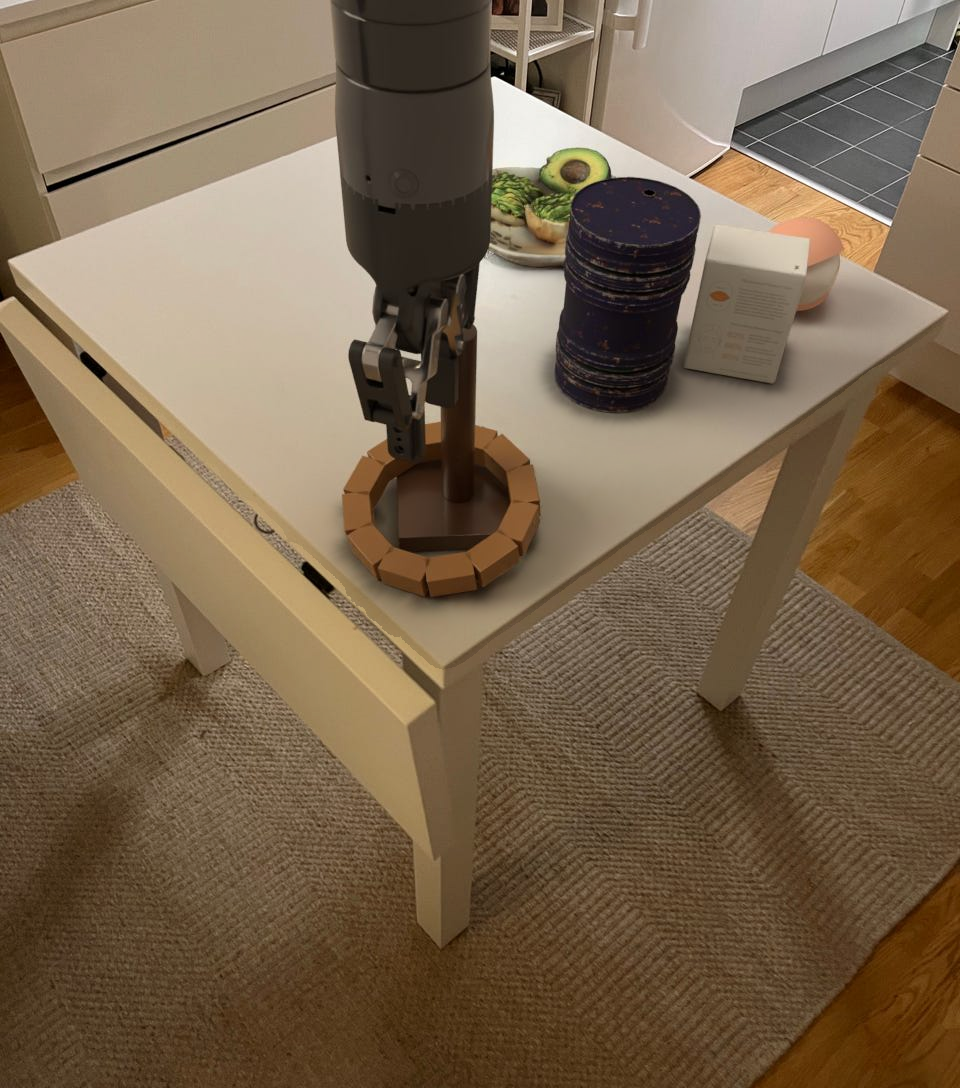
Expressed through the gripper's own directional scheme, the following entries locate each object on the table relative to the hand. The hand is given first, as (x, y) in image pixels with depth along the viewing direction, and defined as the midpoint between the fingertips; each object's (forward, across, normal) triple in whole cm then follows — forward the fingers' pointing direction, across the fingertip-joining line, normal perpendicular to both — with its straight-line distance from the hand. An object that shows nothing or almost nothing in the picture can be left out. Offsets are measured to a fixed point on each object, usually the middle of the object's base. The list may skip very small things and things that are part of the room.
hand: (423, 428), depth 62 cm
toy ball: (+12, -42, +19) cm, 48 cm away
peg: (+12, -6, 0) cm, 14 cm away
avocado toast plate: (+12, -48, -5) cm, 49 cm away
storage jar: (+12, -26, +7) cm, 29 cm away
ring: (+11, -4, 0) cm, 12 cm away
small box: (+12, -32, +16) cm, 38 cm away
